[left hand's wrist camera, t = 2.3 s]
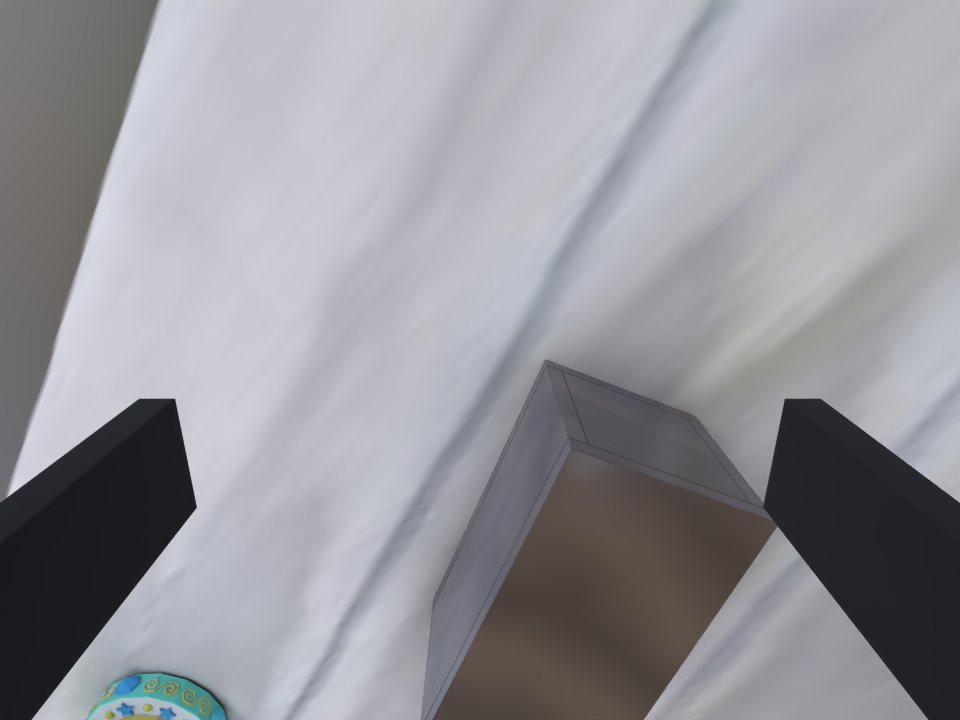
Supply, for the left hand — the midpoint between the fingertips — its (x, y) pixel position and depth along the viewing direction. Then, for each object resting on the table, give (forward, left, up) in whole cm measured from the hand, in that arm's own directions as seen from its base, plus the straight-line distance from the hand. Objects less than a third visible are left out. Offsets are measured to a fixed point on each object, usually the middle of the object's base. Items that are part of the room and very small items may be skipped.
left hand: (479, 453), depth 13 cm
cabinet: (-11, +13, -21) cm, 27 cm away
